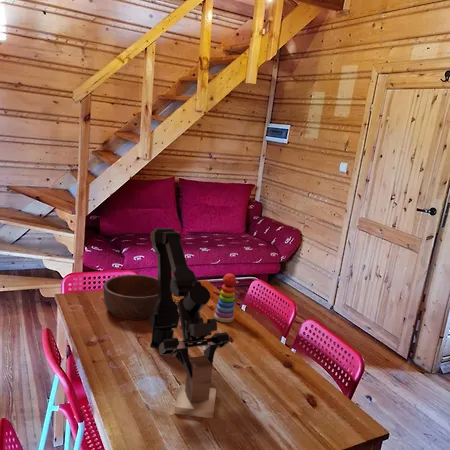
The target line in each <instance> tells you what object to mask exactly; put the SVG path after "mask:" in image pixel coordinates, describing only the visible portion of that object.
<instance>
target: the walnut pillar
mask: <svg viewBox="0 0 450 450" xmlns="http://www.w3.org/2000/svg"><path fill="white" fill-rule="evenodd" d="M189 361H190V365H191V369H192V378H190V377H189V376H188V374H187V372H186V375H185V383H184V385H185V393H186V395H187V396H188V398H189V400H190V402H191V403H192V402H198V401H203V400H209V393H210V388H211V384H212V376H213V375H212V374H213V365H214V364H213V365H212V364H211V363H210V361H209V360H208V358H207V357H206V356H204V355H199V356H194V357H193V356H192V357H189Z"/></svg>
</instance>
